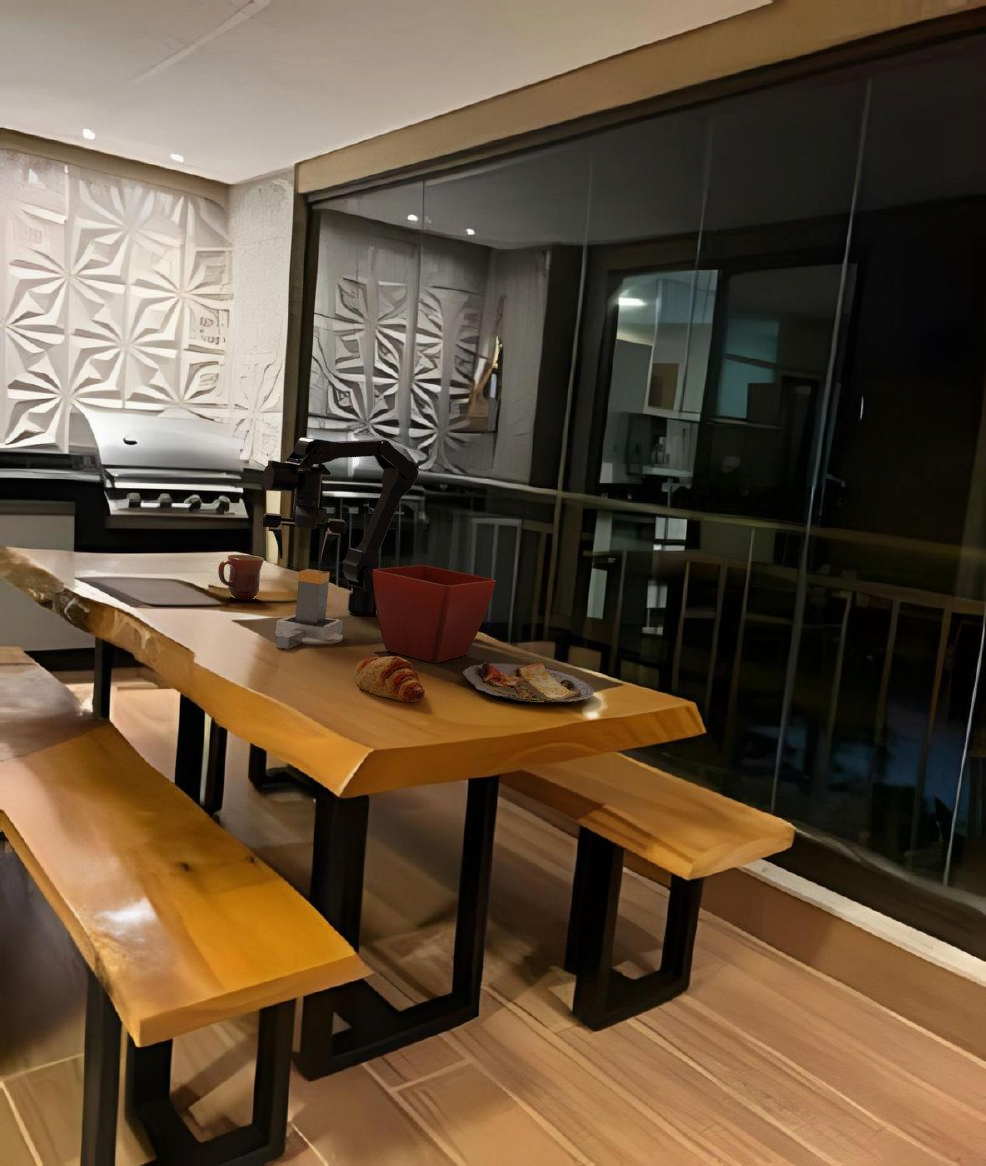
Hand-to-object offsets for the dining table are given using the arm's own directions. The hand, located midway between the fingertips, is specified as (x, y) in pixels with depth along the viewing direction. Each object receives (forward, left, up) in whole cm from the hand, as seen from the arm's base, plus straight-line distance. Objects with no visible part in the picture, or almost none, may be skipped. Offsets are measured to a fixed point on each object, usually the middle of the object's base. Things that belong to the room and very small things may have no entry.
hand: (301, 560), depth 225 cm
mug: (+14, -16, -13) cm, 25 cm away
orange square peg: (-2, +22, -12) cm, 25 cm away
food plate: (-41, +56, -14) cm, 71 cm away
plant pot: (-26, +31, -13) cm, 43 cm away
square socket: (-1, +25, -13) cm, 28 cm away
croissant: (-14, +61, -14) cm, 64 cm away
